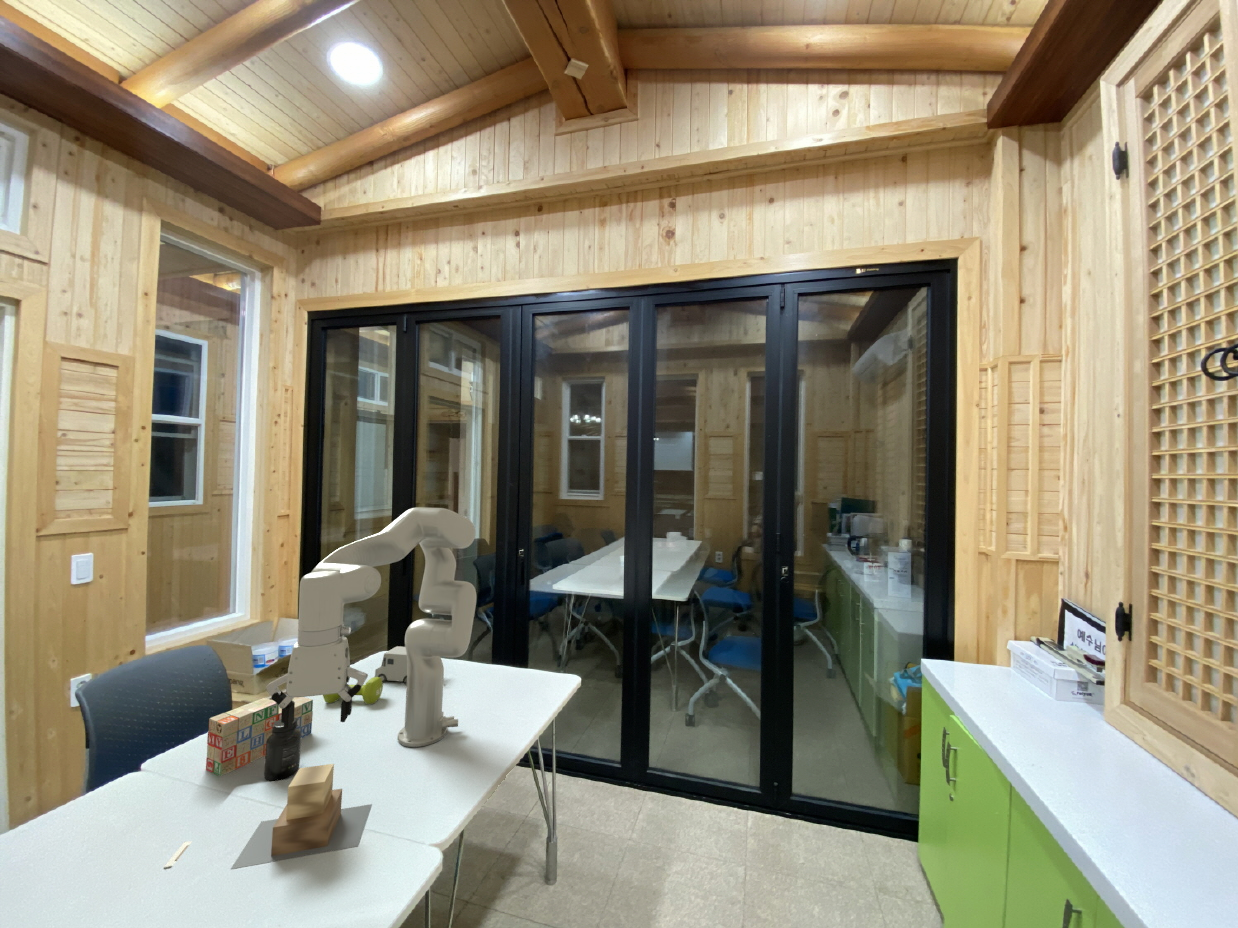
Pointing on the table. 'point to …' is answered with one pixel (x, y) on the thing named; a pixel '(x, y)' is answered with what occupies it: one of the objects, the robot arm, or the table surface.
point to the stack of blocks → (249, 732)
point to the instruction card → (177, 854)
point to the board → (342, 838)
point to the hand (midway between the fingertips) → (317, 721)
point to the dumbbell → (362, 692)
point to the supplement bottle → (282, 752)
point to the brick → (306, 828)
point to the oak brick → (310, 791)
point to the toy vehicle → (393, 665)
